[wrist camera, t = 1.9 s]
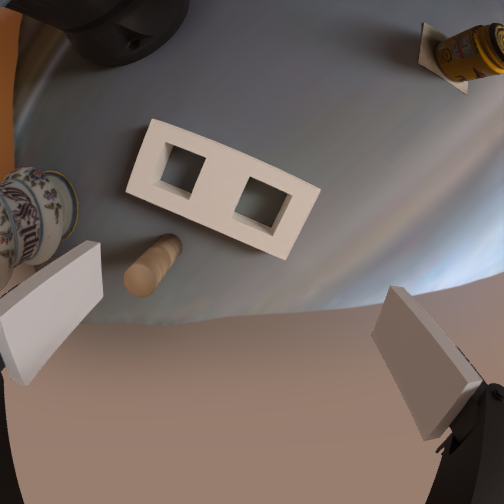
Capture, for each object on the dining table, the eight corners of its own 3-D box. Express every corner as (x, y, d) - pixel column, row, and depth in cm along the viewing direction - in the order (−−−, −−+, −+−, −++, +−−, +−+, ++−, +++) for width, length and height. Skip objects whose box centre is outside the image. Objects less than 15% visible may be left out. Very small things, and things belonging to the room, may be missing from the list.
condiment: (466, 95, 25) (527, 87, 14) (417, 63, 25) (475, 38, 13) (469, 54, 23) (525, 38, 12) (423, 22, 22) (473, -9, 11)
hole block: (138, 187, 31) (125, 191, 27) (163, 121, 28) (152, 118, 25) (282, 249, 33) (285, 260, 30) (314, 185, 30) (320, 189, 27)
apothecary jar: (16, 215, 32) (-72, 256, 15) (44, 145, 29) (-62, 160, 12) (65, 266, 34) (-19, 333, 17) (100, 196, 31) (-9, 241, 14)
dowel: (155, 252, 33) (120, 288, 24) (162, 229, 32) (127, 260, 23) (177, 261, 34) (150, 302, 24) (185, 239, 33) (158, 274, 23)
